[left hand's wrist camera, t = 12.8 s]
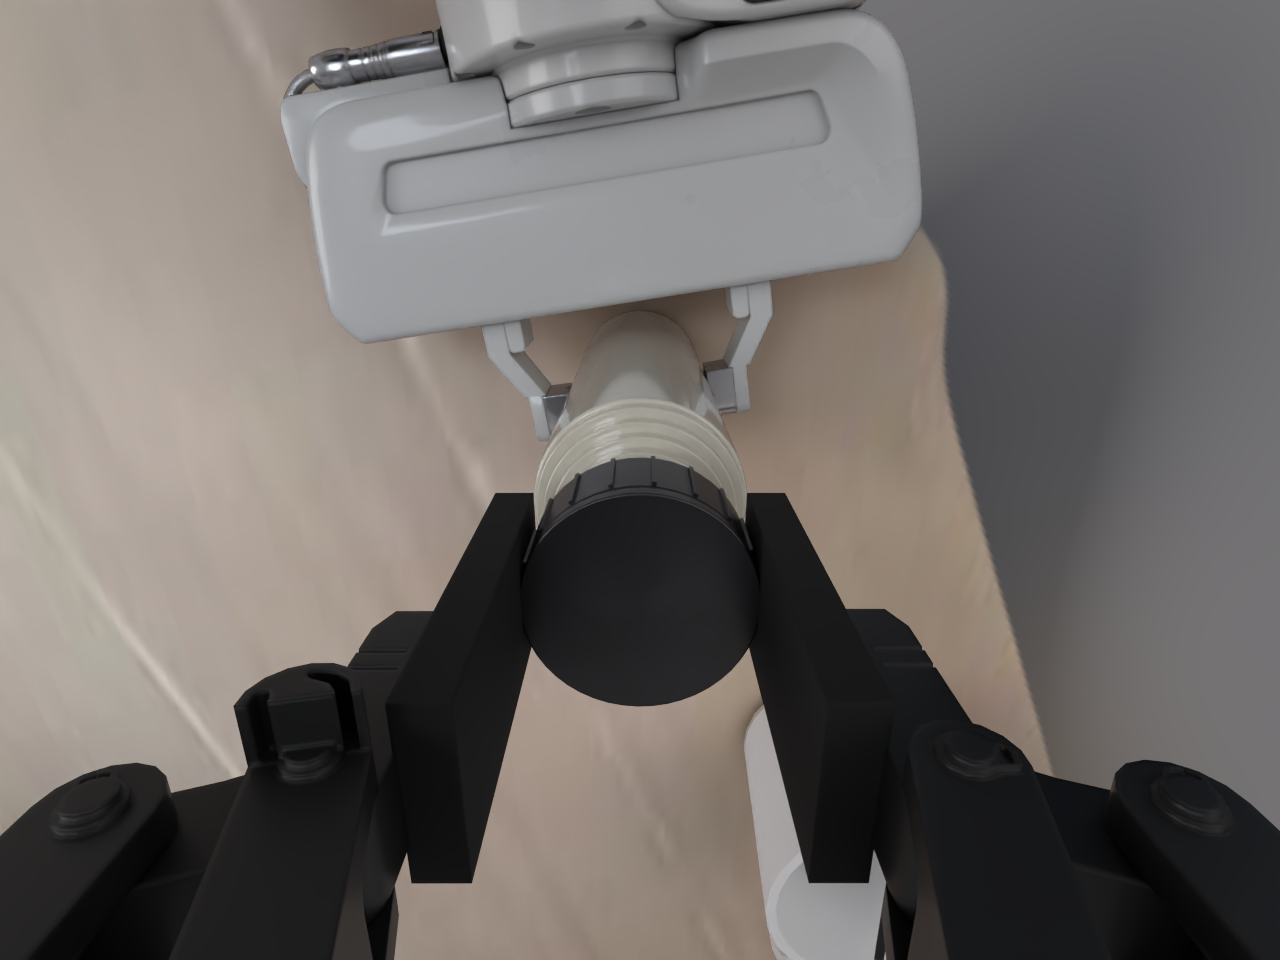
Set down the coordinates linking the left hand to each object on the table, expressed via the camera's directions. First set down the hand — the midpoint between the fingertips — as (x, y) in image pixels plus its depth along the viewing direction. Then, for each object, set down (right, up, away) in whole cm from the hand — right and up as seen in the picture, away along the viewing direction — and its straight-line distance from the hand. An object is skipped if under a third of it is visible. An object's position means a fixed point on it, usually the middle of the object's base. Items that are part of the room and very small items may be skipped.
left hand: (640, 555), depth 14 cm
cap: (0, -1, -2) cm, 2 cm away
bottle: (0, +7, +18) cm, 19 cm away
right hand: (0, +4, +13) cm, 13 cm away
